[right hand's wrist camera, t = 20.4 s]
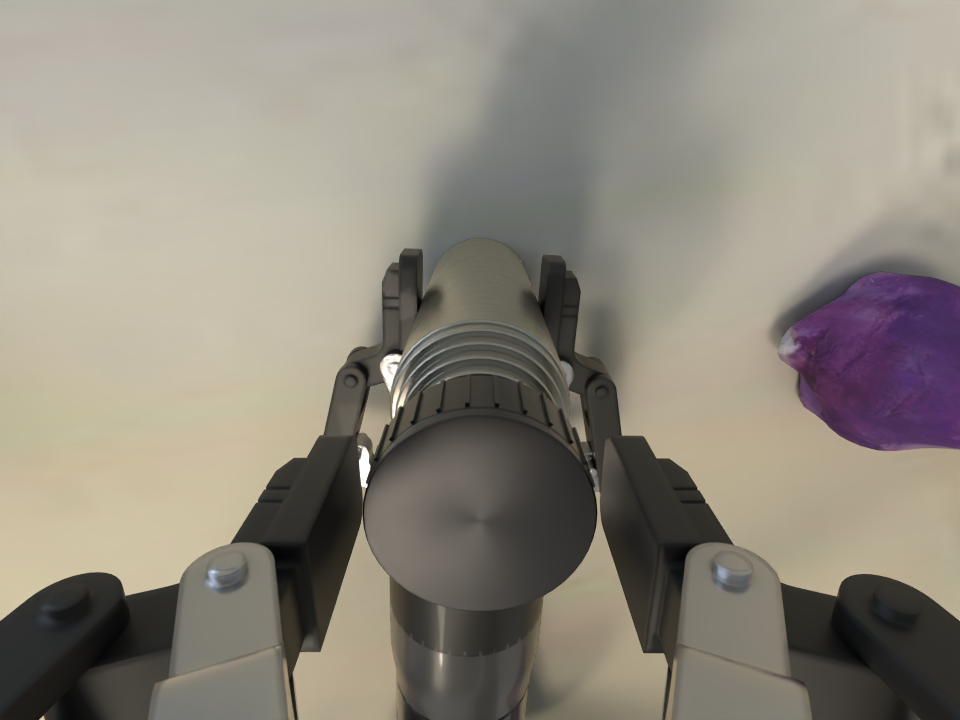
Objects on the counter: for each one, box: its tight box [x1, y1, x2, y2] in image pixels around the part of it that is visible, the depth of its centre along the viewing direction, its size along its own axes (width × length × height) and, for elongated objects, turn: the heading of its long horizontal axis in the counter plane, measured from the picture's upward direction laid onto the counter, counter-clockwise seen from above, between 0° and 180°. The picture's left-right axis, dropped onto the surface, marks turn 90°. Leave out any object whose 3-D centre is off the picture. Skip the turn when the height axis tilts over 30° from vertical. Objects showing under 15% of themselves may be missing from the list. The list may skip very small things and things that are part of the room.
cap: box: [363, 374, 597, 611], centre depth 11 cm, size 4×4×2 cm
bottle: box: [390, 238, 570, 420], centre depth 20 cm, size 5×5×18 cm
